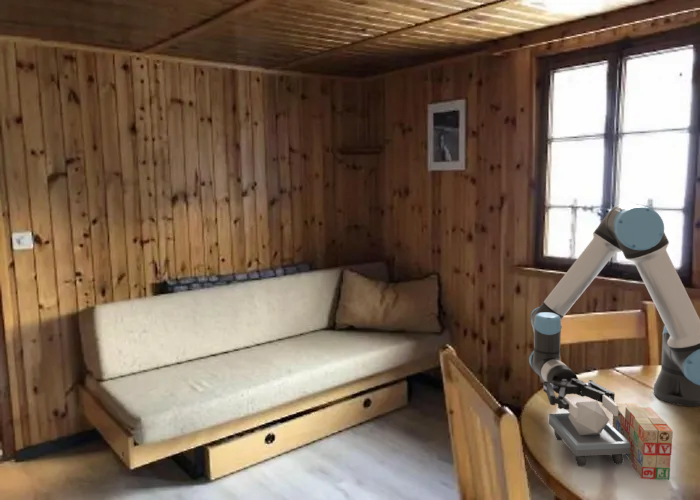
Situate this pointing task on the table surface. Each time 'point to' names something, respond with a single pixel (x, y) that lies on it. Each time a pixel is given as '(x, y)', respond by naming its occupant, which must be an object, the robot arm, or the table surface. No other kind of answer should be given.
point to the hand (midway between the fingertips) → (596, 411)
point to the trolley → (589, 440)
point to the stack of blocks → (645, 440)
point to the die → (589, 418)
